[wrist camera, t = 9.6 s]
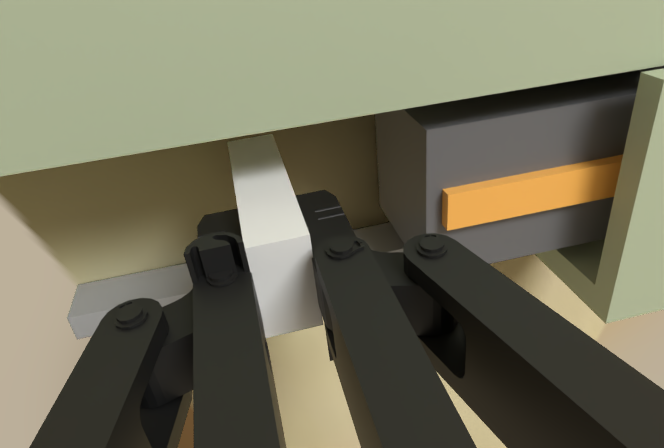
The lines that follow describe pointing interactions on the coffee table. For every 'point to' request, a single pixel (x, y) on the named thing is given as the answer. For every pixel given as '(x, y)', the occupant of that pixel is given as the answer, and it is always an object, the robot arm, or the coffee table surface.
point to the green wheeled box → (325, 99)
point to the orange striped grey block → (508, 166)
